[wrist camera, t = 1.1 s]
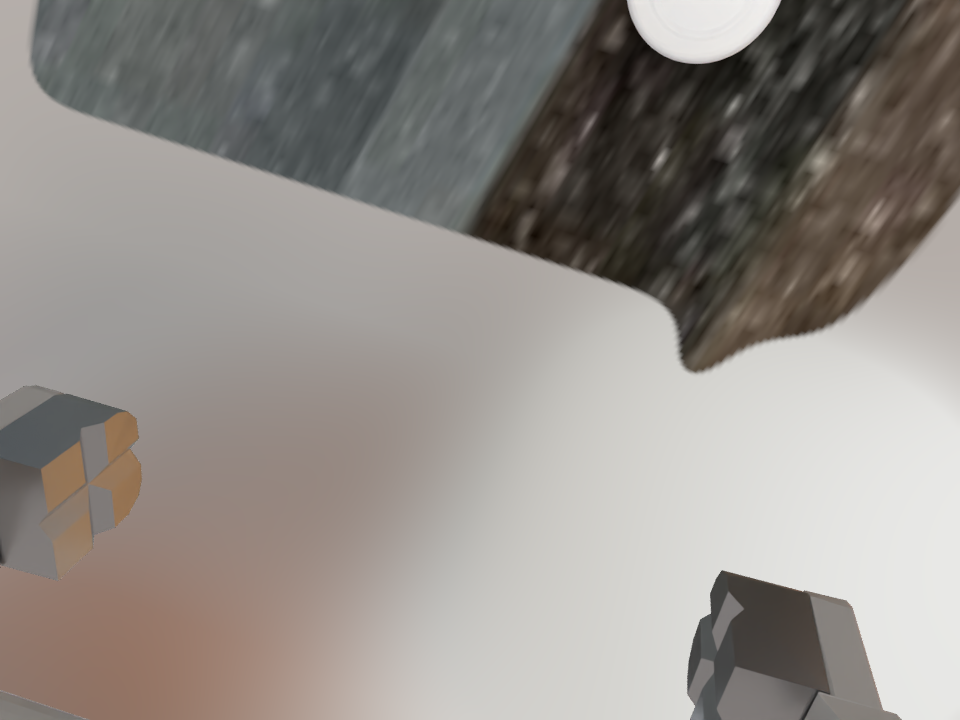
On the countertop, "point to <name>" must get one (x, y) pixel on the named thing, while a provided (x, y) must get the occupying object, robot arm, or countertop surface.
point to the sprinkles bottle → (700, 26)
